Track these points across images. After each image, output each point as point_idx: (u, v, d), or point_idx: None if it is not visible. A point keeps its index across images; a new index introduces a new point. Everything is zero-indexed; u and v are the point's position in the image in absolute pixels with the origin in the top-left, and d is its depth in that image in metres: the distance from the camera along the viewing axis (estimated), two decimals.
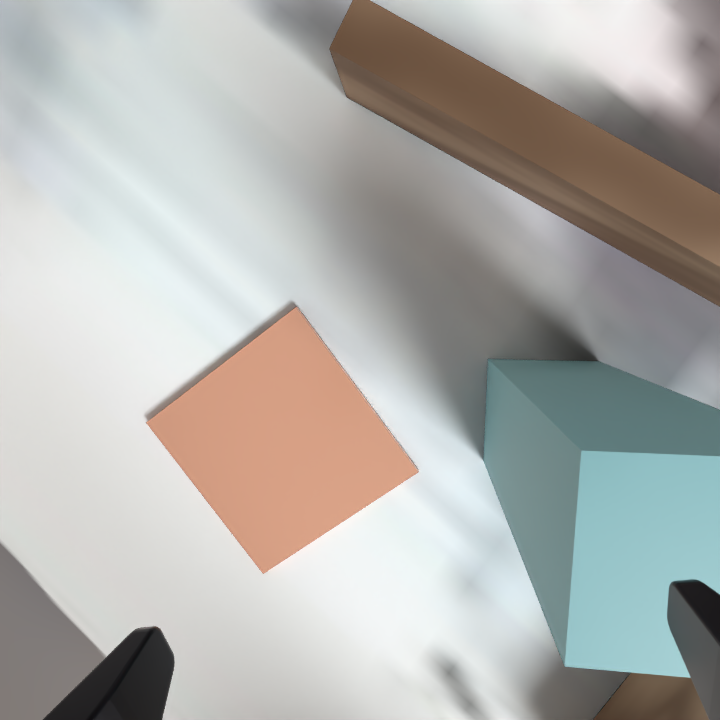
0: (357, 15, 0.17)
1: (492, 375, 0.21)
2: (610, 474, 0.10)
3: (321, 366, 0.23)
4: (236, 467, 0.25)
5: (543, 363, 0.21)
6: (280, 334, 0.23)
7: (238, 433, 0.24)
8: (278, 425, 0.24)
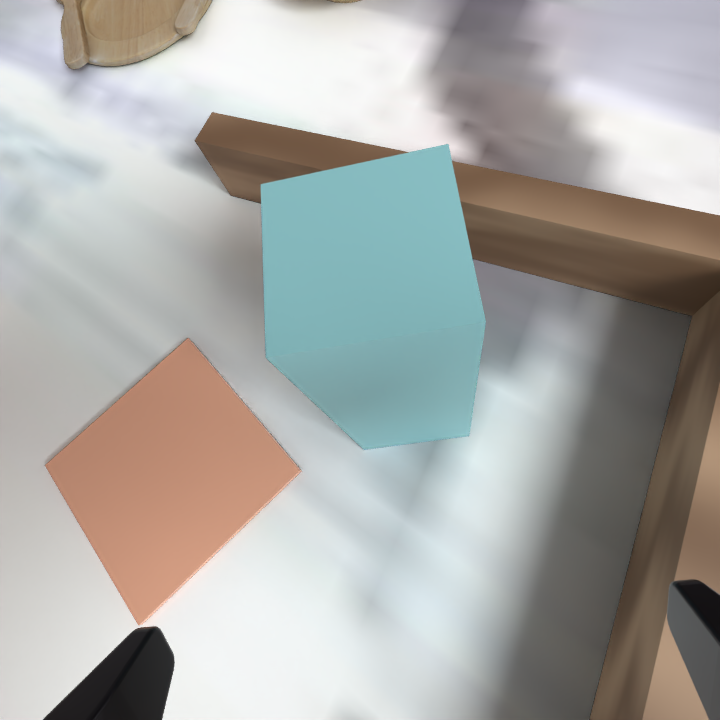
0: (212, 122, 0.26)
1: None
2: (283, 194, 0.13)
3: (207, 383, 0.25)
4: (123, 497, 0.24)
5: None
6: (173, 362, 0.26)
7: (128, 461, 0.25)
8: (167, 446, 0.25)
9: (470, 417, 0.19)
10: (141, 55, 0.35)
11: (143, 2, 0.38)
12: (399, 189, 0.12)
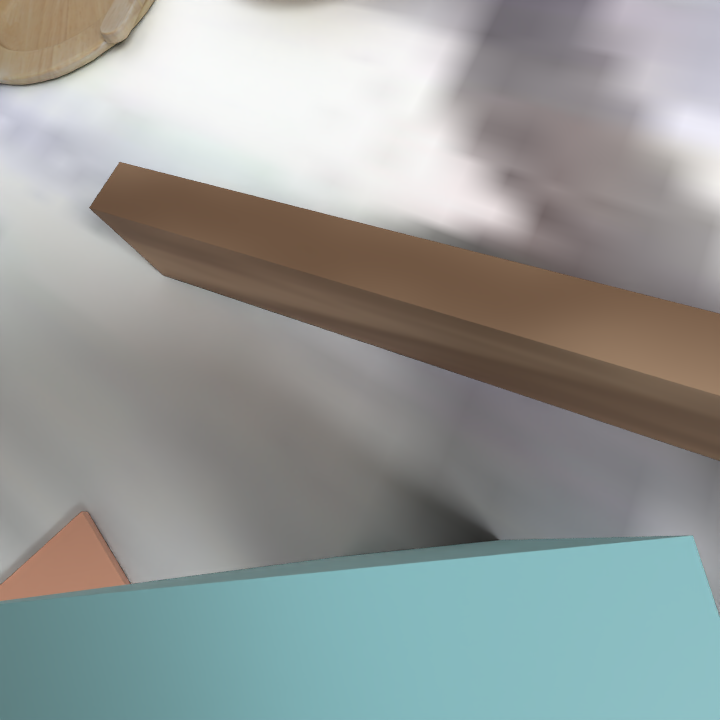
0: (118, 177, 0.17)
1: None
2: None
3: None
4: None
5: None
6: (56, 553, 0.17)
7: None
8: None
9: None
10: (57, 70, 0.26)
11: (69, 0, 0.29)
12: None
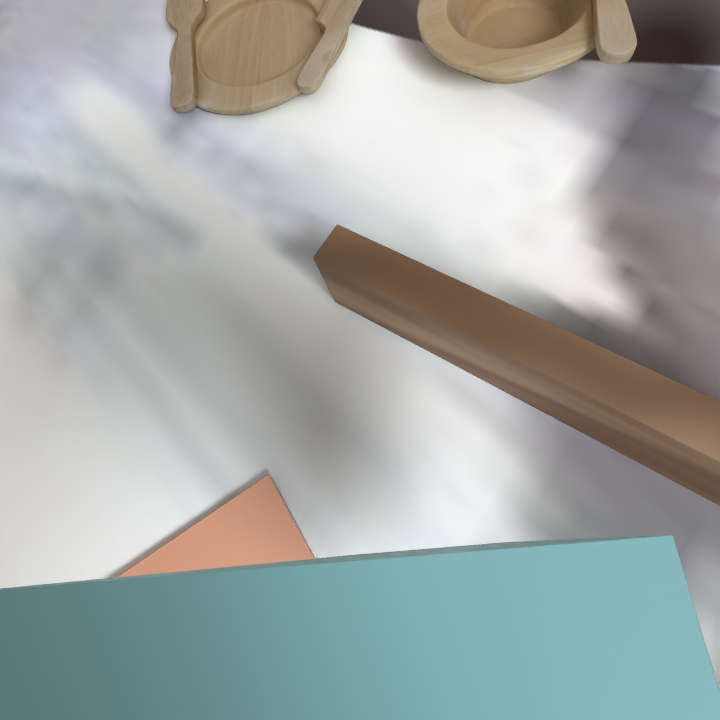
0: (336, 237, 0.22)
1: None
2: None
3: (284, 539, 0.22)
4: None
5: None
6: (248, 502, 0.23)
7: None
8: None
9: None
10: (254, 108, 0.32)
11: (262, 41, 0.34)
12: None
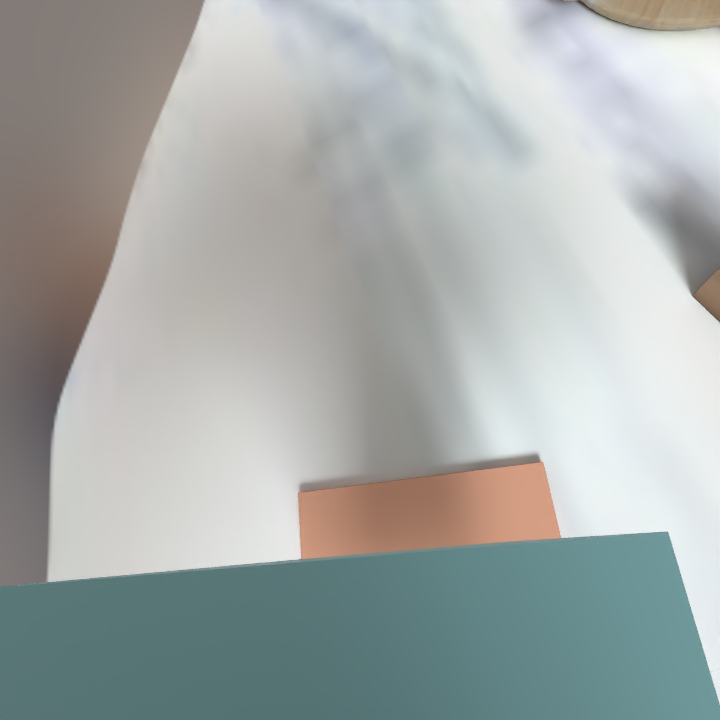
0: None
1: None
2: None
3: None
4: None
5: None
6: (508, 481, 0.19)
7: None
8: None
9: None
10: (658, 24, 0.25)
11: None
12: None
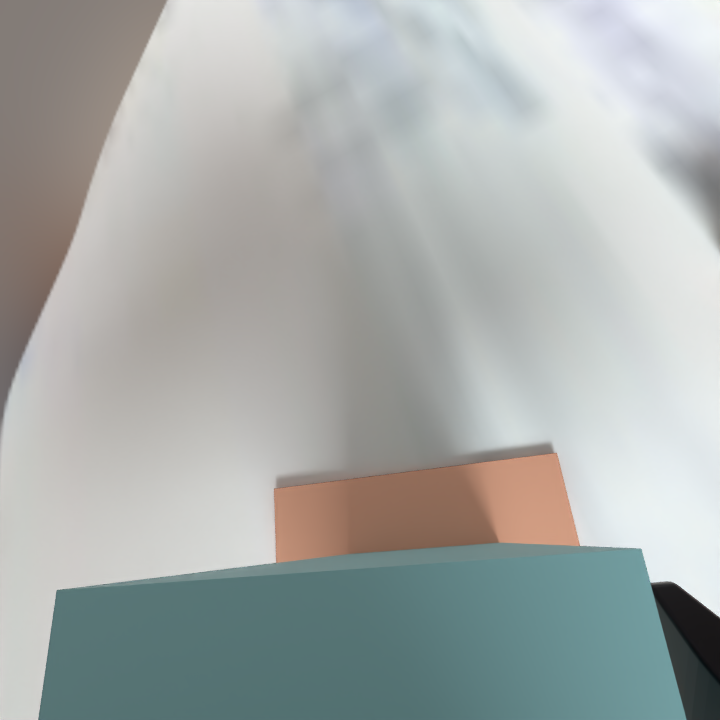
0: None
1: None
2: (112, 648, 0.04)
3: None
4: None
5: (412, 549, 0.15)
6: (517, 476, 0.16)
7: None
8: None
9: None
10: None
11: None
12: None
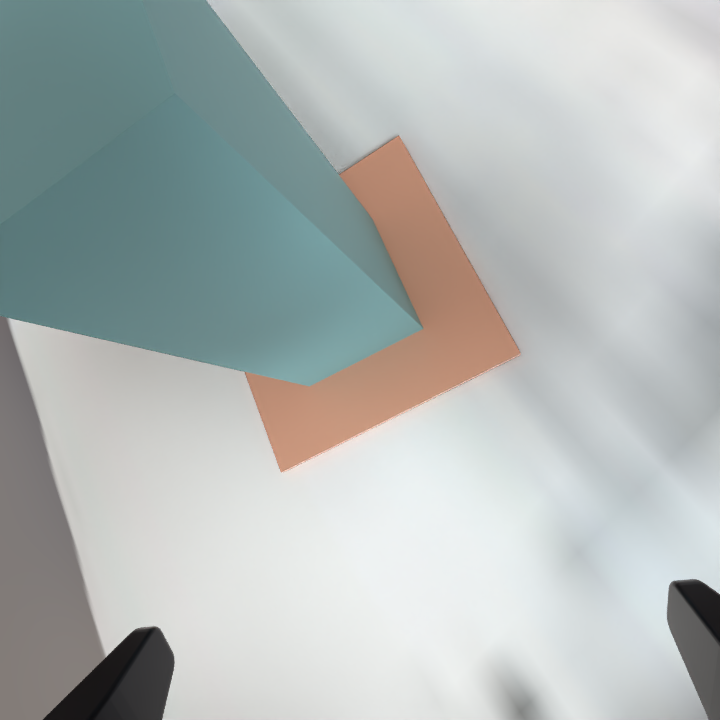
0: None
1: None
2: None
3: (414, 204, 0.19)
4: None
5: None
6: (374, 166, 0.19)
7: None
8: None
9: (392, 301, 0.14)
10: None
11: None
12: None
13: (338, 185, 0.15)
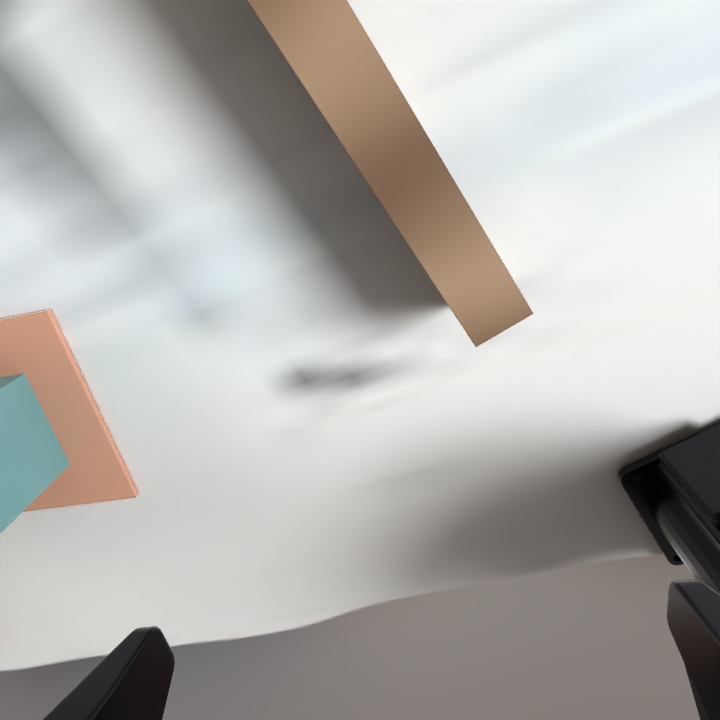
0: None
1: None
2: None
3: None
4: None
5: None
6: None
7: None
8: None
9: None
10: None
11: None
12: None
13: None
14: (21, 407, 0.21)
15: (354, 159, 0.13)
